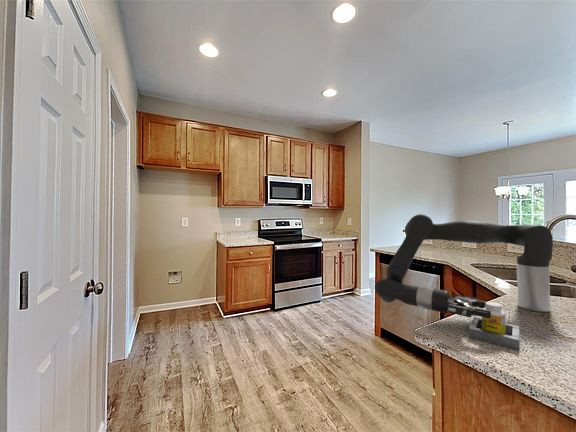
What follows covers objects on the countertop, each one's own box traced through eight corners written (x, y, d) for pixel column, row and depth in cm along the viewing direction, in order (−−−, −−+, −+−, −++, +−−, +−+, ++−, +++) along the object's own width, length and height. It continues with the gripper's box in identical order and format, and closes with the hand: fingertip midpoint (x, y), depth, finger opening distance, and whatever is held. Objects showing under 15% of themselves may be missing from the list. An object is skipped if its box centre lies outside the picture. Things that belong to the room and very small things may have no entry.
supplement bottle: (478, 334, 79) (477, 302, 79) (489, 331, 81) (488, 299, 81) (499, 342, 74) (498, 308, 74) (509, 338, 76) (509, 305, 76)
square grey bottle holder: (473, 325, 86) (473, 316, 86) (519, 335, 78) (519, 326, 78) (469, 337, 77) (469, 328, 77) (519, 350, 69) (519, 340, 69)
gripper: (427, 293, 83) (489, 304, 73) (437, 284, 94) (493, 293, 83) (427, 316, 83) (490, 330, 73) (437, 304, 94) (493, 315, 83)
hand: (491, 310), depth 78 cm, fingers open, 8 cm apart
